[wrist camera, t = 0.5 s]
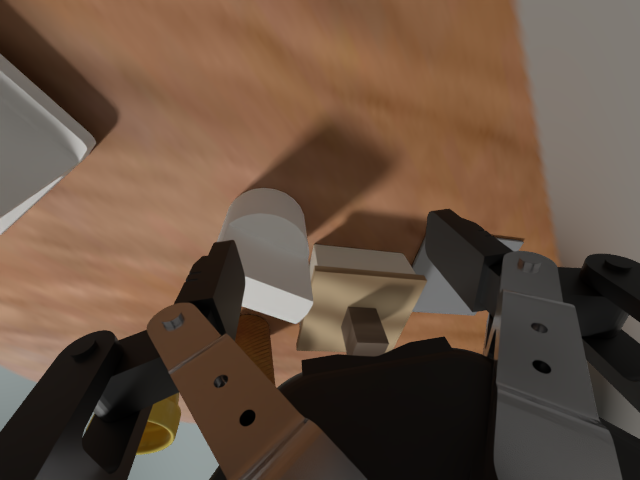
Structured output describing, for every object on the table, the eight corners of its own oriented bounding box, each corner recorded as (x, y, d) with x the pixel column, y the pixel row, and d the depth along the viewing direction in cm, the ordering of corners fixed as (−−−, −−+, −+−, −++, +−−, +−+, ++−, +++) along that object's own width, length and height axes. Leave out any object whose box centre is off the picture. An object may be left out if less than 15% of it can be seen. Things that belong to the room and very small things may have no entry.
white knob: (319, 210, 33) (336, 278, 23) (282, 265, 36) (282, 345, 26) (246, 172, 29) (227, 232, 19) (213, 237, 33) (183, 316, 23)
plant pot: (174, 393, 49) (152, 462, 40) (110, 375, 44) (71, 447, 36) (206, 362, 45) (189, 430, 37) (139, 338, 41) (103, 409, 32)
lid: (314, 265, 31) (320, 306, 26) (423, 275, 33) (449, 314, 28) (296, 343, 37) (298, 388, 32) (388, 347, 40) (403, 388, 35)
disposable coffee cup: (241, 295, 38) (226, 380, 28) (293, 325, 43) (296, 408, 33) (200, 332, 41) (174, 421, 31) (253, 357, 46) (244, 442, 36)
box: (314, 244, 35) (318, 269, 31) (403, 253, 37) (418, 278, 33) (298, 312, 41) (300, 341, 37) (376, 317, 44) (386, 344, 39)
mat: (428, 229, 36) (430, 230, 35) (521, 240, 39) (523, 242, 38) (392, 308, 43) (393, 310, 43) (473, 313, 46) (474, 315, 45)
